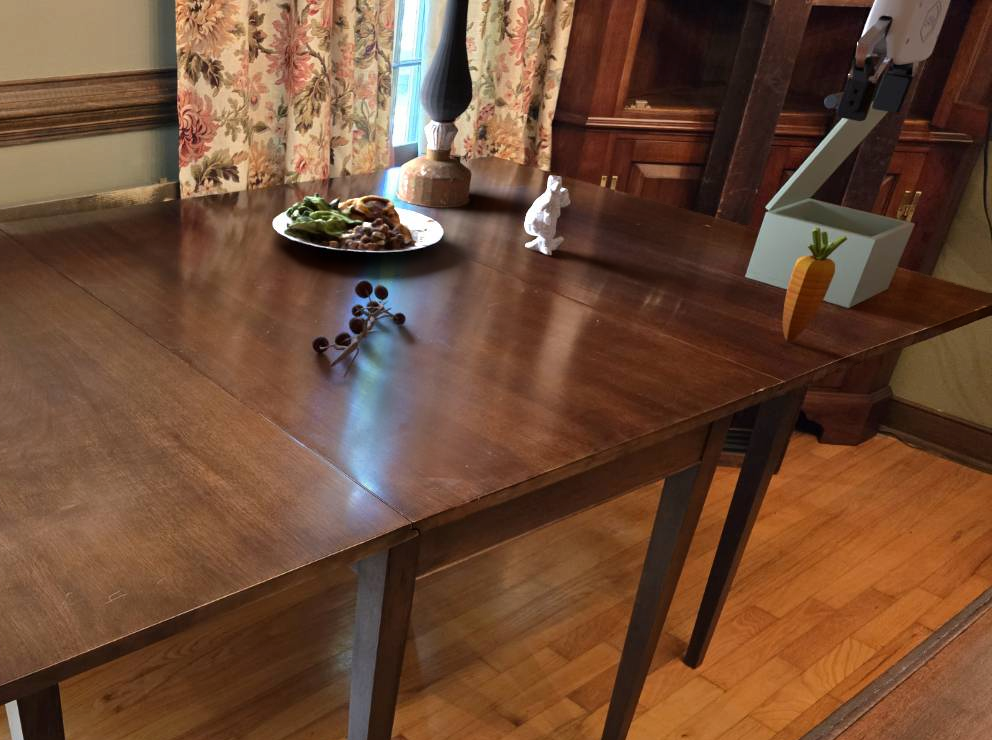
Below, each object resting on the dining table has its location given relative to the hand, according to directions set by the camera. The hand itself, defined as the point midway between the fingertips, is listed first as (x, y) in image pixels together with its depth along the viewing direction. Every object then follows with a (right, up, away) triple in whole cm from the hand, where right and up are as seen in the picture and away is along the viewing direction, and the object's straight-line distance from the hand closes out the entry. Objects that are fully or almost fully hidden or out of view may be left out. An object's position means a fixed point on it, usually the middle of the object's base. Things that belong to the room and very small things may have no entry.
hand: (867, 114), depth 113 cm
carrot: (-1, -24, +16) cm, 28 cm away
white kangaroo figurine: (-26, -3, +44) cm, 52 cm away
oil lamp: (-40, +14, +68) cm, 80 cm away
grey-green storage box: (+14, -10, +35) cm, 39 cm away
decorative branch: (-59, -25, +10) cm, 65 cm away
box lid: (+12, +6, +28) cm, 31 cm away
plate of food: (-57, -1, +45) cm, 72 cm away
